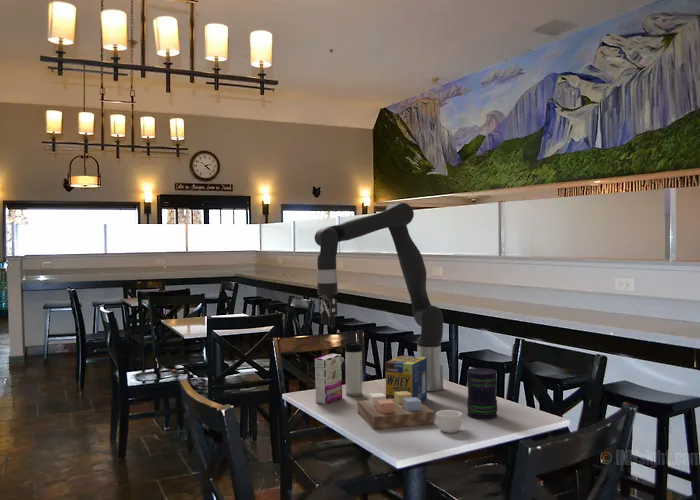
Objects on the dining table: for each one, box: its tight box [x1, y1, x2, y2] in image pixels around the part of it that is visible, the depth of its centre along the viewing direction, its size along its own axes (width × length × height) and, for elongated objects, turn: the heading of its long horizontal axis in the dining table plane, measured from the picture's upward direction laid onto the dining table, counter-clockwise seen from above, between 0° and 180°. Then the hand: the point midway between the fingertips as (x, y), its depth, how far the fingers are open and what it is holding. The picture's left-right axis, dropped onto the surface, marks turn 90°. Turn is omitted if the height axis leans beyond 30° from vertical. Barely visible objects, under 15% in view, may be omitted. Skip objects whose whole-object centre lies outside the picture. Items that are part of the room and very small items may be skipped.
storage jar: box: [466, 367, 498, 421], centre depth 201 cm, size 10×10×15 cm
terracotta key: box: [376, 399, 395, 414], centre depth 193 cm, size 5×5×4 cm
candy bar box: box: [314, 353, 343, 405], centre depth 223 cm, size 11×5×16 cm, turn 148°
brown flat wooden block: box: [356, 397, 435, 431], centre depth 199 cm, size 20×20×4 cm
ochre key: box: [394, 391, 412, 404], centre depth 204 cm, size 5×5×4 cm
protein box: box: [385, 354, 428, 403], centre depth 220 cm, size 10×15×16 cm
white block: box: [368, 392, 386, 406], centre depth 202 cm, size 5×5×4 cm
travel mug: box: [344, 342, 363, 397], centre depth 231 cm, size 6×7×20 cm
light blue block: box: [403, 397, 422, 411], centre depth 195 cm, size 5×5×4 cm
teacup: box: [436, 409, 466, 434], centre depth 185 cm, size 10×8×5 cm
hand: (328, 325), depth 224 cm, fingers open, 8 cm apart
